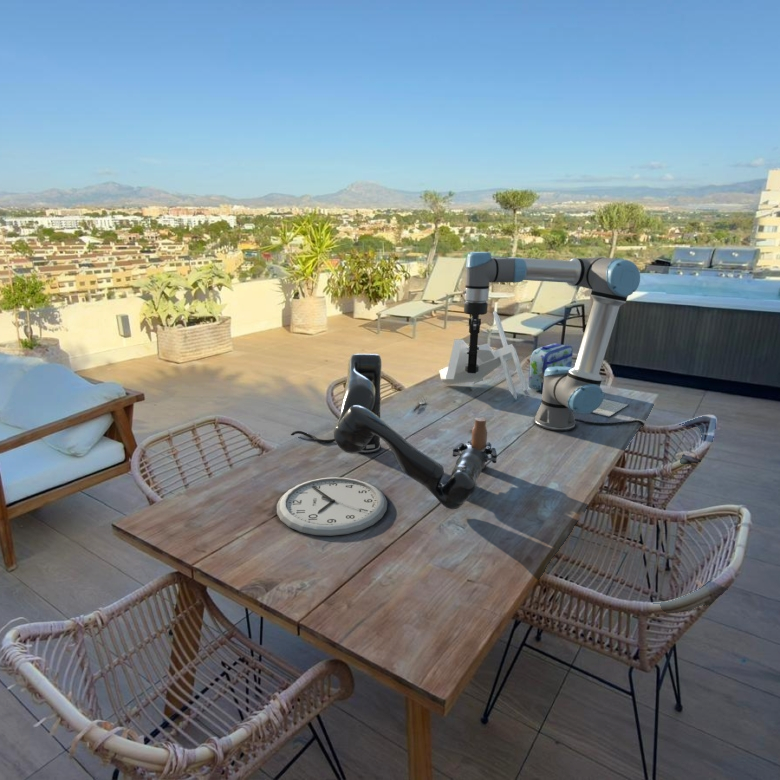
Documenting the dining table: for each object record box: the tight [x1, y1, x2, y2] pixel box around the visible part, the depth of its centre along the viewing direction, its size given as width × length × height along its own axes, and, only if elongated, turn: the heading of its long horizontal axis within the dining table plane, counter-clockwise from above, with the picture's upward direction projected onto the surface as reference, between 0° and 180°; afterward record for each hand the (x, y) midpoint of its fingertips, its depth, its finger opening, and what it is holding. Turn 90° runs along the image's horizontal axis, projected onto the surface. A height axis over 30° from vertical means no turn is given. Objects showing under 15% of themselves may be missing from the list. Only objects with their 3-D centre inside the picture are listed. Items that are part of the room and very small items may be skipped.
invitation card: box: [591, 398, 629, 418], centre depth 226 cm, size 21×1×15 cm
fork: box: [413, 396, 428, 412], centre depth 222 cm, size 3×16×2 cm, turn 160°
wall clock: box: [276, 476, 388, 537], centre depth 142 cm, size 30×2×30 cm
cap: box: [465, 364, 479, 372], centre depth 176 cm, size 5×5×2 cm
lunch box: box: [528, 343, 574, 392], centre depth 249 cm, size 26×11×21 cm, turn 134°
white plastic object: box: [438, 310, 531, 400], centre depth 245 cm, size 37×45×31 cm
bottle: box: [471, 417, 488, 470], centre depth 165 cm, size 5×5×16 cm
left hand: (480, 443), depth 168 cm, fingers closed on bottle, 4 cm apart
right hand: (471, 370), depth 176 cm, fingers closed on cap, 4 cm apart
